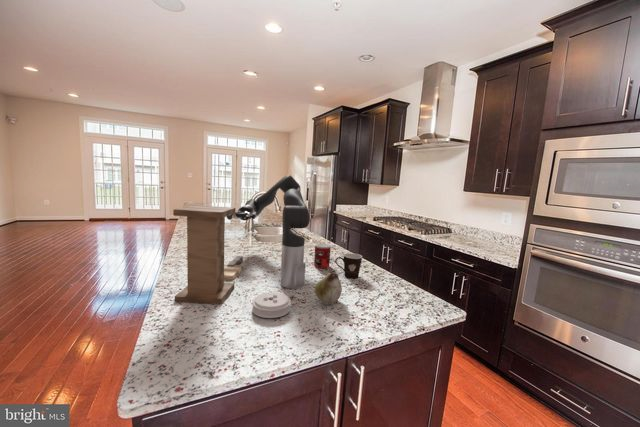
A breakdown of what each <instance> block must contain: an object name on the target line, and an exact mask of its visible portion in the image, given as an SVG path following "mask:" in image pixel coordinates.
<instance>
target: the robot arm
mask: <svg viewBox="0 0 640 427" xmlns="http://www.w3.org/2000/svg"><path fill="white" fill-rule="evenodd" d="M279 189H280V190H281V191H282V192H283V193H284V194H283V200H282V201H283V205H284V206H283V209H282V239H281V257H280V258H281V261H280V262H281V264H280V265H281V266H280V286H281V287H283V288H287V289H294V290H297V289H299V288H301V287H303V286H304V285H305V284H306V283H305V280H306V262H304V261H305V260H304V259H305V242H306V241H305V238H304V237H303V236H301V235H298V234H296V233H295V232H293V231H292V230H291V229H306V228H307V227H308V226H309V225H310V219H311V218H310V217H311V216H310V212H309V209H308V207H307V205H306V203H305V202H304V197H303V194H302V192H301V185H300V184H299V183H298V182H297V180H296V179H295V178H294V177H293V176H292V175H290V174H287V175H285V176H283V177H282V178H281V179H279V180H278V181H277V182H276V183H275V184H274V185H273V186H271V187H270V188H269V189H268V190H267V191H266V192H265V193H264V194H262V195H259V196H258V197H257V198H256V199H254V198H252V199H248V200H247V201H246V203H245V204H244V205H243V206H241V207H239V208H238V209H237V211H235V213H234V214H231V215H229V216H227V217H226V219H227V220H229V221H230V220H232V219H233V220H236V219H239V220H241V221H249V220H251V219H253V220H255V219H256V218H257V217H258V216H259V215H260V214H261V213H262V211H263V210H264V209H265V208H267V207H269V206H270V205H271V204H272V203H274V201H275V199H276V196H277V192H278V191H279Z"/></svg>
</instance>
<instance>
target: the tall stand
mask: <svg viewBox="0 0 640 427" xmlns="http://www.w3.org/2000/svg"><path fill="white" fill-rule="evenodd" d="M235 212H236V207H228V206H213V205H212V206H209V205H188V206H184V207H180V208H175V209H173V210H172V214H173V216H174V217H179V216H180V217H186V242H187V243H186V247H187V248H186V249H187V250H186V252H187V253H186V255H187V256H186V257H187V258H186V259H187V260H186V261H187V264H186V265H187V274H186V275H187V278H186V279H187V286H185V287H184V288H183V289H182V290H181V291H179V293H177V294H176V295H174V302H175V303H188V304H204V305H205V304H206V305H207V304H209V305H222V304H223V303H224V302H225V300H226V299H227V297H229V295H230V294H231V293H232V291H233V290H234V289H235V283H234V282H225V280H224V265H225V229H226V228H225V221H226V220H225V218H227V216H229V215H231V214H234V213H235ZM223 301H224V302H223Z"/></svg>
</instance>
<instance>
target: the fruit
mask: <svg viewBox="0 0 640 427" xmlns="http://www.w3.org/2000/svg"><path fill="white" fill-rule="evenodd" d="M342 291H343V287H342V283H341V280H340V278H339V275H338V274H336V273H335V272H329V273H327V275H325V276H324V277H322V278H321V279H320V280H318V282H317V283H316V284H315V287H314V293H315V296H316V299H318V301H319V302H320V303H323V304H324V305H333V304H335V303H336V302H338V300H339V299H340V298H341V296H342Z"/></svg>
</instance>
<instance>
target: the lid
mask: <svg viewBox="0 0 640 427" xmlns="http://www.w3.org/2000/svg"><path fill="white" fill-rule="evenodd" d="M291 301H292V300H291V298H290V297H289V296H287V295H286V294H284V293H282V292H279V291H278V292H277V291H268V292H267V291H266V292H263V293H260V294H258V295H257V296H255V297H254V298H253V300H252V302H251V304H252V306H251V310H252V313H253V314H254V315H256V316H258V317H260V318H265V319H274V318H275V319H276V318H279V317H283V316H286V315H287V314H288V313H290V311H291Z"/></svg>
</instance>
